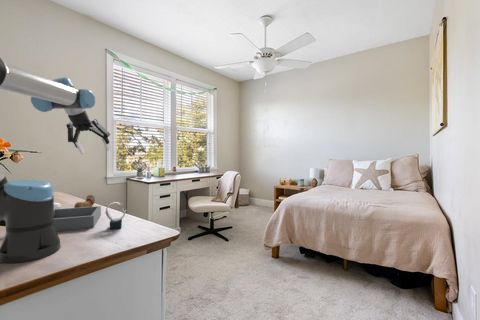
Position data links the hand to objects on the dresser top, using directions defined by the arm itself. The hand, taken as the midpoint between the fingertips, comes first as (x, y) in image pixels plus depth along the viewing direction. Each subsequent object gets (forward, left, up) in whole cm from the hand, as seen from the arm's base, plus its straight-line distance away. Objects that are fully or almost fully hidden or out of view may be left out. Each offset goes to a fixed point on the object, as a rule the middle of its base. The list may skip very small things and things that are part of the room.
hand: (96, 151), depth 123 cm
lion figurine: (+5, +7, -33) cm, 34 cm away
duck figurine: (+8, +24, -33) cm, 42 cm away
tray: (-14, +8, -33) cm, 37 cm away
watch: (-27, -11, -33) cm, 44 cm away
